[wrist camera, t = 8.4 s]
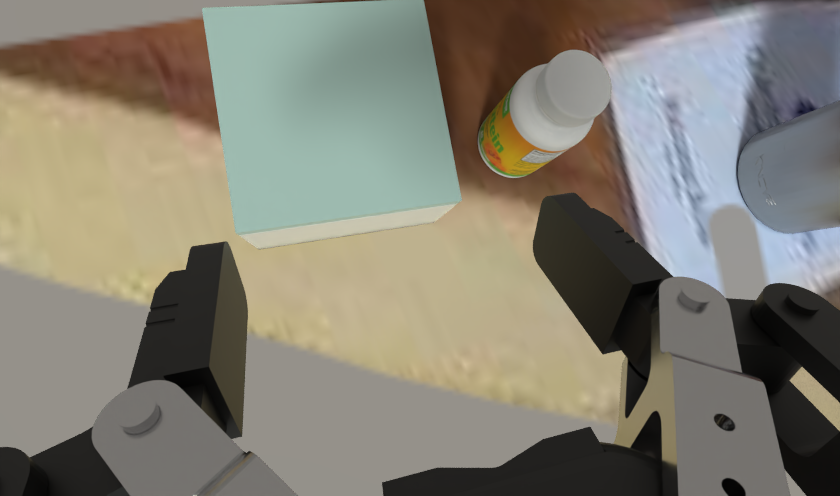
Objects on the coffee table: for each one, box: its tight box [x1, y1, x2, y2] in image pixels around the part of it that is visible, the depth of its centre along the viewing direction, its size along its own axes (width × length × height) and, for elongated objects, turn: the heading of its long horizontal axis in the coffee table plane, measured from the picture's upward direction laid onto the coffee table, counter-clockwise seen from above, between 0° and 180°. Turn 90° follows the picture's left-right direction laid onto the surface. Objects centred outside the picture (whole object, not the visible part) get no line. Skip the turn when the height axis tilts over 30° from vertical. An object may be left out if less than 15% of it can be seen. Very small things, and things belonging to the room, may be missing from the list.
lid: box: [202, 0, 462, 235], centre depth 24 cm, size 12×12×1 cm
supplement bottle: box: [478, 50, 612, 178], centre depth 29 cm, size 5×5×10 cm
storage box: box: [240, 204, 456, 249], centre depth 28 cm, size 12×12×6 cm
